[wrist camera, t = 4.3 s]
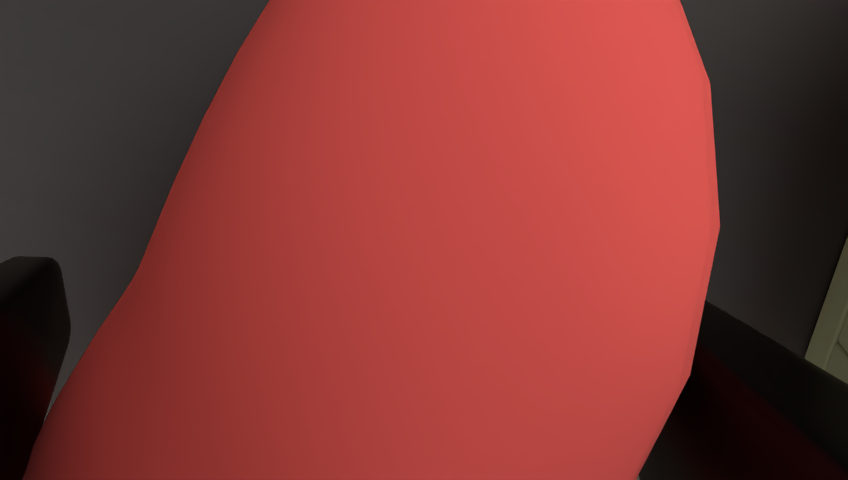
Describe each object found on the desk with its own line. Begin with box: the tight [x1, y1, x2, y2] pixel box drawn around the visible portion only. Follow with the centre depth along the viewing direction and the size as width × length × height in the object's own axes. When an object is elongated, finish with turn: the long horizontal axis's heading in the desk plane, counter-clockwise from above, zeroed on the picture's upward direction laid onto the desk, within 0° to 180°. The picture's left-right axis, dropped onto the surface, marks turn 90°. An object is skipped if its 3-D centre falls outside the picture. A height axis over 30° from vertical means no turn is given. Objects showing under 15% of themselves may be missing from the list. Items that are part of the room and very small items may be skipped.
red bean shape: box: [22, 0, 720, 480], centre depth 8 cm, size 5×9×6 cm, turn 136°
